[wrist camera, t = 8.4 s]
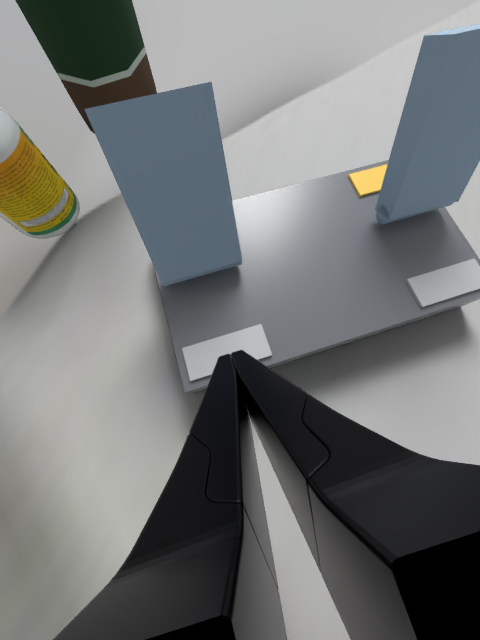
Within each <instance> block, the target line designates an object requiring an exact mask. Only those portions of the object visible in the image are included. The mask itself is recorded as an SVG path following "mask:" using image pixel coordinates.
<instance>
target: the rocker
mask: <svg viewBox="0 0 480 640" xmlns="http://www.w3.org/2000/svg"><path fill="white" fill-rule="evenodd" d="M84 110H85V112H86V114H87V116H88V119H89V121H90V123H91V125H92V128H93V130H94V132H95V134H96V136H97V139H98V141H99V143H100V145H101V148H102V149H103V152H104V154H105V156H106V159H107V161H108V163H109V165H110V168H111V170H112V172H113V175H114V177H115V179H116V181H117V184H118V186H119V188H120V190H121V193H122V195H123V197H124V199H125V202H126V204H127V206H128V208H129V211H130V213H131V215H132V217H133V220H134V222H135V224H136V226H137V229H138V231H139V233H140V235H141V238H142V240H143V242H144V244H145V247H146V249H147V251H148V253H149V256H150V258H151V260H152V262H153V264H154V267H155V269H156V271H157V273H158V276H159V278H160V280H161V282H162V283H163V285H164V286H167V285H171V284H174V283H178V282H181V281H185V280H188V279H192V278H195V277H199V276H203V275H206V274H210V273H213V272H217V271H220V270H224V269H227V268H231V267H234V266H238V265H241V264H242V255H241V249H240V243H239V238H238V232H237V226H236V220H235V215H234V209H233V203H232V197H231V192H230V186H229V180H228V174H227V168H226V163H225V157H224V151H223V145H222V140H221V134H220V129H219V122H218V117H217V111H216V106H215V99H214V93H213V88H212V83H211V82H208V83H204V84H199V85H194V86H190V87H185V88H181V89H176V90H171V91H167V92H162V93H157V94H152V95H148V96H143V97H138V98H134V99H129V100H124V101H120V102H115V103H110V104H106V105H101V106H96V107H92V108H87V109H84Z"/></svg>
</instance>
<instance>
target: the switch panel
mask: <svg viewBox="0 0 480 640" xmlns="http://www.w3.org/2000/svg"><path fill="white" fill-rule="evenodd" d="M388 162H389V160H387V161H383V162H380V163H376V164H372V165H368V166H364V167H360V168H356V169H353V170H349V171H345V172H341V173H337V174H333V175H329V176H326V177H322V178H318V179H314V180H310V181H306V182H302V183H299V184H295V185H291V186H287V187H283V188H279V189H275V190H272V191H268V192H264V193H260V194H256V195H252V196H248V197H245V198H241V199H237V200H233V201H232V203H233V209H234V215H235V220H236V226H237V232H238V238H239V243H240V249H241V255H242V264H241V265H238V266H234V267H231V268H227V269H224V270H220V271H217V272H213V273H210V274H206V275H203V276H199V277H195V278H192V279H188V280H185V281H181V282H178V283H174V284H171V285H167V286H164V285H163V283H162V282H161V280H160V278H159V276H158V273H157V271H156V269H155V267H154V269H155V273H156V277H157V281H158V285H159V289H160V293H161V297H162V302H163V306H164V310H165V314H166V318H167V322H168V326H169V330H170V334H171V339H172V343H173V347H174V351H175V355H176V359H177V363H178V367H179V371H180V376H181V380H182V384H183V388H184V392H186V393H195V392H198V391H201V390H204V389H206V388H207V386H208V383H209V380H210V378H211V375H212V373H213V370H214V368H215V365H216V362H217V360H218V357H219V356H222V355H225V354H231V353H232V352H235V351H238V350H243V351H245V352H246V353H248V354H249V355H251V356H252V357H254V358H255V359H257V360H258V361H260V362H261V363H263V364H264V365H266V366H267V367H269V368H272V367H275V366H278V365H281V364H285V363H288V362H291V361H294V360H297V359H300V358H303V357H306V356H309V355H312V354H315V353H319V352H322V351H325V350H328V349H331V348H334V347H337V346H340V345H343V344H346V343H349V342H352V341H356V340H359V339H362V338H365V337H368V336H371V335H374V334H377V333H380V332H383V331H386V330H389V329H393V328H396V327H399V326H402V325H405V324H408V323H411V322H414V321H417V320H420V319H423V318H427V317H430V316H433V315H436V314H439V313H442V312H445V311H448V310H451V309H454V308H457V307H460V306H463V305H466V304H468V303H471V302H473V301H475V300H478V299H480V259H479V258H478V256H477V255H476V253H475V252H474V250H473V249H472V247H471V246H470V244H469V243H468V241H467V240H466V238H465V237H464V235H463V234H462V232H461V231H460V229H459V228H458V226H457V225H456V223H455V222H454V220H453V219H452V217H451V216H450V214H449V213H448V211H447V210H446V208H445V207H443V208H439V209H436V210H432V211H429V212H425V213H421V214H418V215H414V216H411V217H407V218H404V219H400V220H397V221H393V222H390V223H386V224H380V223H379V222H378V221H377V218H376V212H377V211H376V210H375V207H376V204H377V200H378V197H379V193H380V190H381V186H382V183H383V179H384V176H385V172H386V169H387V165H388ZM153 265H154V264H153Z"/></svg>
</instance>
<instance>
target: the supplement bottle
mask: <svg viewBox="0 0 480 640" xmlns="http://www.w3.org/2000/svg"><path fill="white" fill-rule="evenodd" d="M79 210H80V209H79V201H78V199H77V197H76V195H75V194H74V192H73V191H72V190H71V188H70V187H69V186H68V185H67V184H66V182H65V181H64V180H63V179H62V177H61V176H60V175H59V174H58V173H57V171H56V170H55V169H54V168H53V166H52V165H51V164H50V163H49V161H48V160H47V159H46V158H45V156H44V155H43V154H42V153H41V152H40V150H39V149H38V148H37V147H36V145H35V144H34V143H33V142H32V140H31V139H30V138H29V137H28V135H27V134H26V133H25V132H24V131H23V129H22V128H21V127H20V126H19V125H18V123H17V122H16V121H15V120H14V118H13V117H12V116H11V115H10V114H9V113H8V112H7V111H5V110H4V109H3V108H1V107H0V217H2V218H3V219H4V220H6V221H7V222H8V223H10V224H11V225H12V226H14V227H15V228H16V229H18V230H19V231H20V232H22V233H23V234H26V235H28V236H30V237H33V238H49V237H54V236H57V235H60V234H62V233H64V232H65V231H67V230H68V229H69V228H71V226H72V225H73V224H74V223H75V221H76V220H77V217H78V214H79Z"/></svg>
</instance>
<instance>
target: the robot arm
mask: <svg viewBox="0 0 480 640" xmlns="http://www.w3.org/2000/svg"><path fill="white" fill-rule="evenodd" d="M245 403H246V404H245ZM247 410H248V411H247ZM248 413H249V414H248ZM249 415H250V418H251V420H252V423H253V425H254V427H255V429H256V431H257V434H258V436H259V438H260V440H261V442H262V445H263V447H264V449H265V451H266V453H267V456H268V458H269V460H270V462H271V464H272V467H273V469H274V471H275V473H276V476H277V478H278V480H279V482H280V484H281V487H282V489H283V491H284V493H285V495H286V498H287V500H288V502H289V504H290V506H291V509H292V511H293V513H294V515H295V517H296V520H297V522H298V524H299V526H300V528H301V531H302V533H303V535H304V537H305V539H306V542H307V544H308V546H309V548H310V550H311V553H312V555H313V557H314V559H315V561H316V564H317V566H318V568H319V570H320V572H321V573H322V577H323V579H324V581H325V584H326V586H327V588H328V590H329V592H330V595H331V597H332V599H333V601H334V604H335V606H336V608H337V610H338V612H339V615H340V617H341V619H342V621H343V623H344V626H345V628H346V630H347V632H348V634H349V637H350V639H351V640H480V465H473V464H465V463H458V462H450V461H443V460H438V459H434V458H430V457H427V456H424V455H421V454H418V453H416V452H413V451H411V450H409V449H407V448H404V447H402V446H400V445H398V444H397V443H395V442H393V441H391V440H389V439H387V438H385V437H383V436H381V435H379V434H377V433H375V432H373V431H372V430H370V429H368V428H366V427H364V426H362V425H360V424H358V423H356V422H354V421H352V420H351V419H349V418H347V417H345V416H343V415H342V414H340V413H338V412H336V411H334V410H333V409H331V408H329V407H328V406H326V405H325V404H323V403H321V402H320V401H318V400H317V399H315V398H314V397H312V396H311V395H308V394H307V393H306V392H305V391H303V390H302V389H300V388H299V387H297V386H296V385H294V384H293V383H291V382H290V381H288V380H287V379H285V378H284V377H282V376H281V375H279V374H278V373H276V372H275V371H273V370H272V369H270V368H269V367H267V366H266V365H264V364H263V363H261V362H260V361H258V360H257V359H255V358H254V357H252V356H251V355H249V354H248V353H246V352H245V351H243V350H238V351H235V352H232V353H231V354H225V355H222V356H219V357H218V360H217V362H216V365H215V368H214V370H213V373H212V375H211V378H210V380H209V383H208V386H207V388H206V391H205V393H204V396H203V398H202V401H201V403H200V406H199V409H198V411H197V414H196V416H195V419H194V421H193V424H192V427H191V429H190V432H189V435H188V436H187V439H186V442H185V444H184V447H183V449H182V451H181V454H180V456H179V459H178V461H177V463H176V465H175V467H174V469H173V471H172V473H171V476H170V478H169V480H168V482H167V484H166V486H165V488H164V490H163V491H162V493H161V495H160V497H159V499H158V501H157V503H156V505H155V507H154V509H153V511H152V513H151V515H150V517H149V518H148V520H147V522H146V524H145V526H144V528H143V530H142V532H141V534H140V536H139V538H138V540H137V542H136V543H135V545H134V547H133V549H132V551H131V552H130V554H129V556H128V557H127V559H126V560H125V562H124V564H123V565H122V566H121V568H120V569H119V571H118V572H117V573H116V575H115V576H114V577H113V578H112V580H111V581H110V582H109V583H108V584H107V585H106V586H105V587H104V589H103V590H102V591H101V592H100V593H99V594H98V595H97V596H96V597H95V598H94V599H93V600H92V601H91V602H90V603H89V604H88V605H87V606H86V607H85V608H84V609H83V610H82V611H81V612H80V613H79V614H78V615H77V616H76V617H75V618H74V619H73V620H72V621H71V622H70V623H69V624H68V625H67V626H66V627H65V628H64V629H63V630H62V631H61V632H60V633H59V634H58V635H57V636H56V637H55V638H54V639H53V640H287V637H286V631H285V625H284V619H283V613H282V607H281V601H280V595H279V592H278V584H277V578H276V572H275V566H274V560H273V554H272V548H271V542H270V537H269V531H268V525H267V519H266V513H265V507H264V501H263V495H262V489H261V483H260V477H259V472H258V466H257V460H256V454H255V448H254V442H253V436H252V430H251V424H250V419H249Z"/></svg>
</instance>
